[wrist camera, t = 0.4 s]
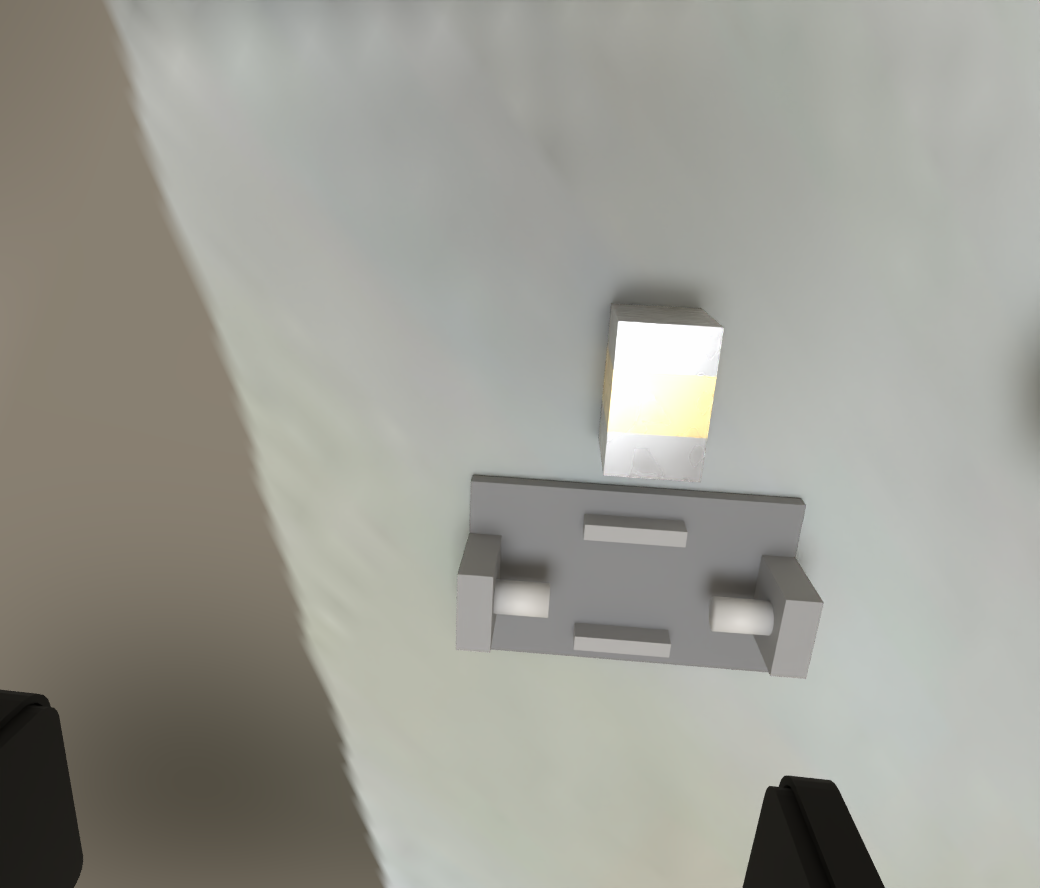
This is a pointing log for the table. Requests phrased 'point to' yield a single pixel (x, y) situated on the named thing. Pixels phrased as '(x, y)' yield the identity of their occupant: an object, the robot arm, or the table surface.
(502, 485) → the shaft stand
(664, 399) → the coupler
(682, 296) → the table surface
